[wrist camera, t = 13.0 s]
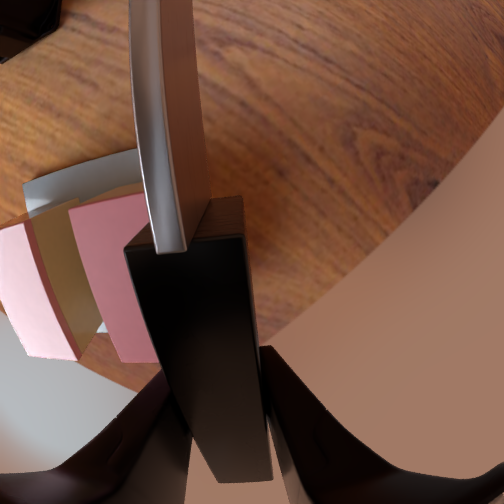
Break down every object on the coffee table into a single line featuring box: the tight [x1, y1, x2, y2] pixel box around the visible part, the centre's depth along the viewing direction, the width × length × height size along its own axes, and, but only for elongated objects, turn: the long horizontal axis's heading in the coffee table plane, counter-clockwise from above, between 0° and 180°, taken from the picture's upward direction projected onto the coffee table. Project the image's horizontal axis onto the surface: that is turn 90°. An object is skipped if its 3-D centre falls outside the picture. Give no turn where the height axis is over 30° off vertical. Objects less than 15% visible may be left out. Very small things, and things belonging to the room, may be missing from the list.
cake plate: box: [0, 148, 142, 361], centre depth 14 cm, size 12×12×7 cm
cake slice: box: [68, 182, 159, 363], centre depth 14 cm, size 8×4×6 cm, turn 7°
